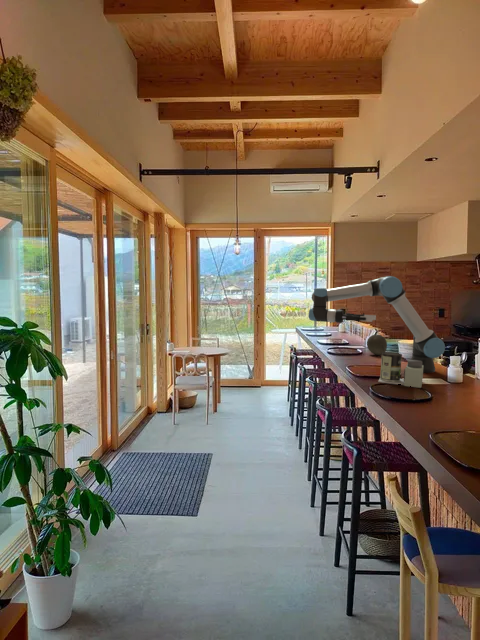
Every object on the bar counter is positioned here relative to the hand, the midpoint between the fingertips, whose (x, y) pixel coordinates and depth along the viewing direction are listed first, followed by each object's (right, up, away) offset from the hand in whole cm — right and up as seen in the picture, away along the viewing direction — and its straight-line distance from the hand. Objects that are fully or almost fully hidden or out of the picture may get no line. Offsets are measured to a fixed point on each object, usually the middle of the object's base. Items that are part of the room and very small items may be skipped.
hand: (374, 318), depth 248 cm
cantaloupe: (+25, -27, +78) cm, 86 cm away
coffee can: (+5, -33, -10) cm, 35 cm away
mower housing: (+10, -34, -12) cm, 37 cm away
